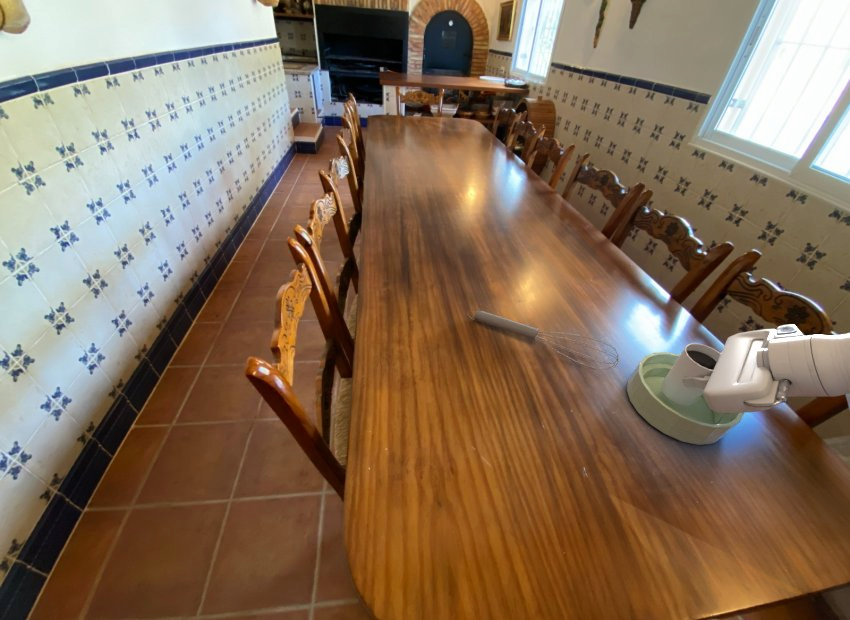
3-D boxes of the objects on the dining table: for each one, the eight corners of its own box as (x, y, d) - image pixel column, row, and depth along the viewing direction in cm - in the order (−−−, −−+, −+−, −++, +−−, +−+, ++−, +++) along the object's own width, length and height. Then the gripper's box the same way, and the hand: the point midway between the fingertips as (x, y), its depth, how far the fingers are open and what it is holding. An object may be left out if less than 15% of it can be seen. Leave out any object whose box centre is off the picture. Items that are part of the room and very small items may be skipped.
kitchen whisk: (471, 309, 89) (475, 288, 85) (613, 363, 78) (625, 343, 74) (461, 323, 85) (465, 302, 81) (609, 382, 74) (622, 362, 70)
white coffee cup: (705, 401, 67) (738, 366, 60) (679, 411, 65) (711, 375, 58) (674, 375, 71) (702, 339, 65) (650, 383, 69) (676, 347, 63)
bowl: (719, 394, 73) (737, 375, 69) (727, 463, 61) (750, 445, 57) (629, 360, 79) (642, 340, 75) (621, 417, 67) (635, 398, 63)
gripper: (794, 426, 48) (678, 421, 59) (807, 352, 60) (708, 359, 71) (776, 386, 47) (663, 388, 59) (793, 319, 59) (696, 332, 70)
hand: (688, 372), depth 65 cm, fingers closed on white coffee cup, 4 cm apart
